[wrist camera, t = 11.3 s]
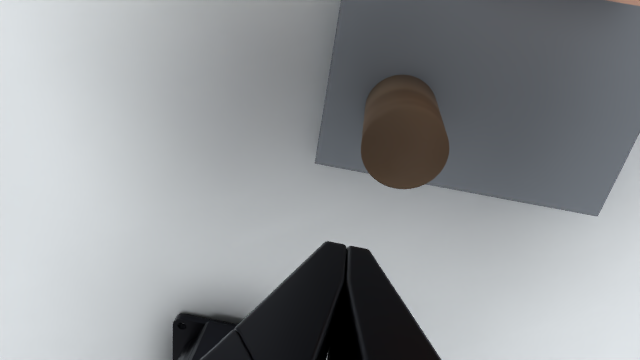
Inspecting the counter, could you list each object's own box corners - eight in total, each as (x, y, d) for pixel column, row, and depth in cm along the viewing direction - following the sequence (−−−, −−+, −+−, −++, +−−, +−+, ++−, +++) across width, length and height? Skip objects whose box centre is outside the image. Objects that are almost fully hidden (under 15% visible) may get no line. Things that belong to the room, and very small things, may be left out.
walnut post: (426, 148, 19) (436, 195, 16) (358, 135, 20) (353, 180, 16) (445, 81, 18) (460, 117, 15) (372, 68, 18) (370, 101, 15)
